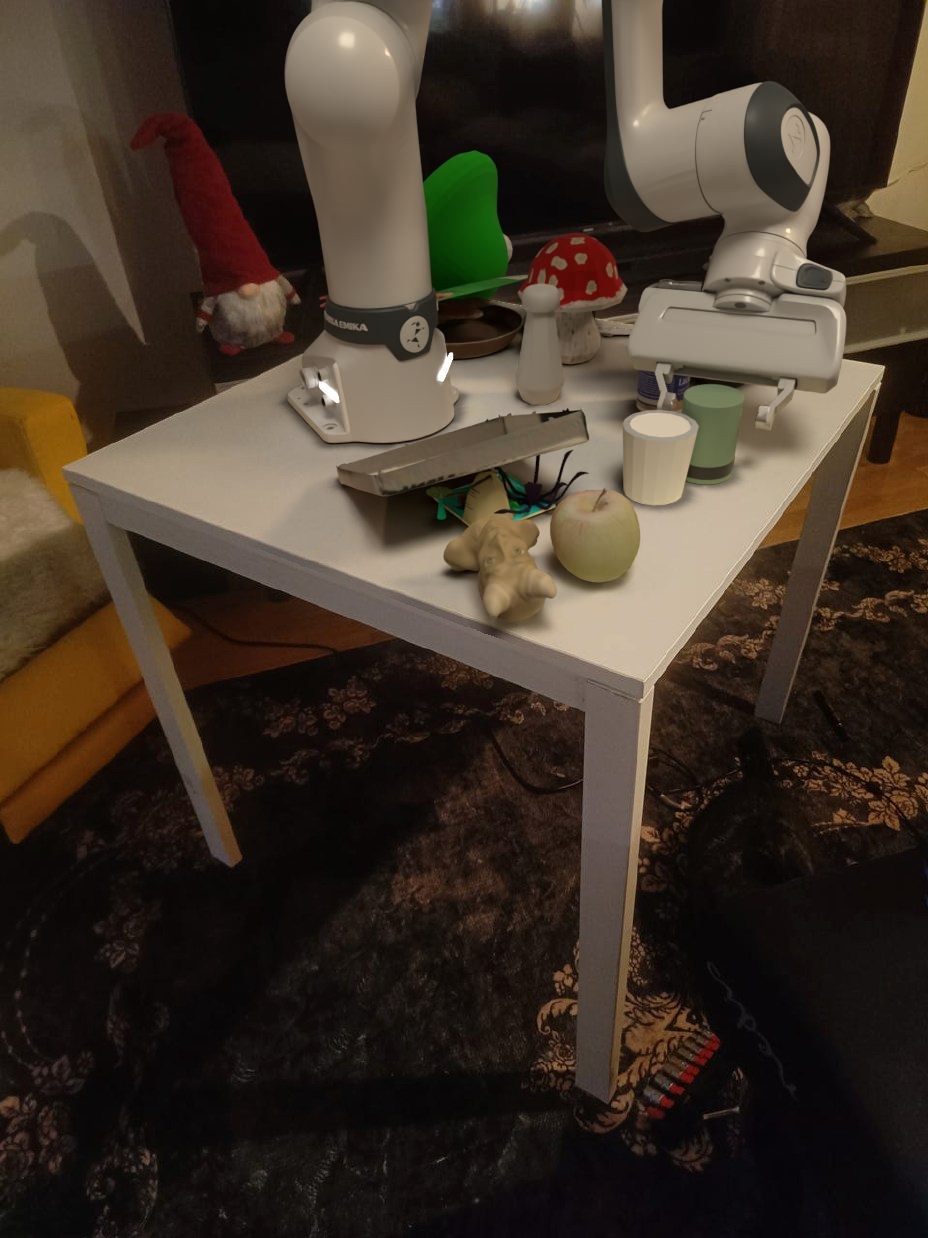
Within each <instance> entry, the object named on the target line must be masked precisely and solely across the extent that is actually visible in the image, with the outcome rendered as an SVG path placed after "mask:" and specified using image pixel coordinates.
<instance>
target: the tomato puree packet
mask: <svg viewBox="0 0 928 1238" xmlns="http://www.w3.org/2000/svg"><path fill="white" fill-rule="evenodd" d="M527 277H528V274H521V275H512V276H511V275H509V276H505V277H502V278H496V279H490V280H485V281H480V282H475V283H470V284H466V285H461V286H457V287H453V288H449V289H445V290H441V291H438V292H436V299H437V301H441V300H445V299H449V298H453V297H458V296H462V295H466V294H471V293H475V292H480V291H484V290H488V289H492V288H496V287H499V288H501V287H503V286H507V285H511V284H515V283H520V282H523V281H524V282H525V281H526V280H527Z"/></svg>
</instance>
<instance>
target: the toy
mask: <svg viewBox="0 0 928 1238" xmlns="http://www.w3.org/2000/svg"><path fill="white" fill-rule="evenodd" d="M498 185H499V184H498V169H497V166H496V164H495V162H494V161H493V159H492V158H491V157H490V156H489V155H488V154H485V153H482V152H479V151H477V150H471V151H468V152H461V153H458V154H456V155H454V156H452V157H451V158H450V159H447V160H446V161H445V162H444V163H443V164H441V165H440V166H439V167H438V168H437V169H435V170H434V171H433V172H431V174H430V175H429V176H428V177H427V178H426V179H425V180H424V181H423V188H424V196H425V204H426V213H427V226H428V241H429V256H430V271H431V285H432V287H433V288H434V289H435V291H436V292H438V291H441V290H445V289H449V288H453V287H457V286H461V285H466V284H470V283H475V282H480V281H485V280H490V279H496V278H502V277H506V275H507V271H508V266H509V262H510V260H511V259H512V256H513V244H512V241H511V240H510V238H509V237H508V236H507V235H506V234H504V233H503V230H502V227H501V225H500V221H499V217H498ZM499 289H500V287H496V288H492V289H488V290H484V291H480V292H475V293H471V294H466V295H462V296H458V297H453V298H449V299H466V298H473V297H480V298H483V299H491V298H492V297H493V296H494V295H495V294H496V293H497V292H498V290H499Z"/></svg>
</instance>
